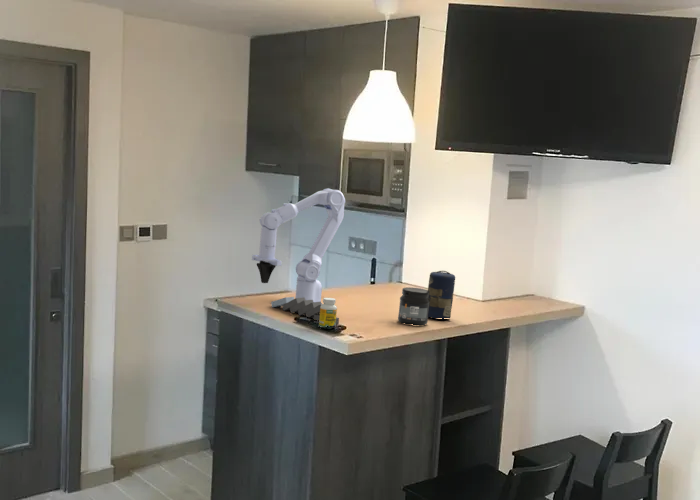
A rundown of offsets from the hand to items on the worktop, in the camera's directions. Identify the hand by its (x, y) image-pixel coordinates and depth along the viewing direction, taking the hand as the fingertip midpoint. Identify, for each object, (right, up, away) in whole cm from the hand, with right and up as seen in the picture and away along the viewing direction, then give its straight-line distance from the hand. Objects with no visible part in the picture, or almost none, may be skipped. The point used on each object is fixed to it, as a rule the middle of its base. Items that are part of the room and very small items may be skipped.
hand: (264, 282), depth 277 cm
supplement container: (+53, -14, -9) cm, 56 cm away
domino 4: (+15, -10, -14) cm, 22 cm away
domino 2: (+9, -8, -8) cm, 15 cm away
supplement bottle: (+23, -13, -31) cm, 41 cm away
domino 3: (+12, -9, -11) cm, 19 cm away
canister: (+63, -14, +4) cm, 65 cm away
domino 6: (+20, -11, -19) cm, 30 cm away
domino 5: (+18, -10, -17) cm, 26 cm away
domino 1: (+4, -8, -4) cm, 10 cm away
